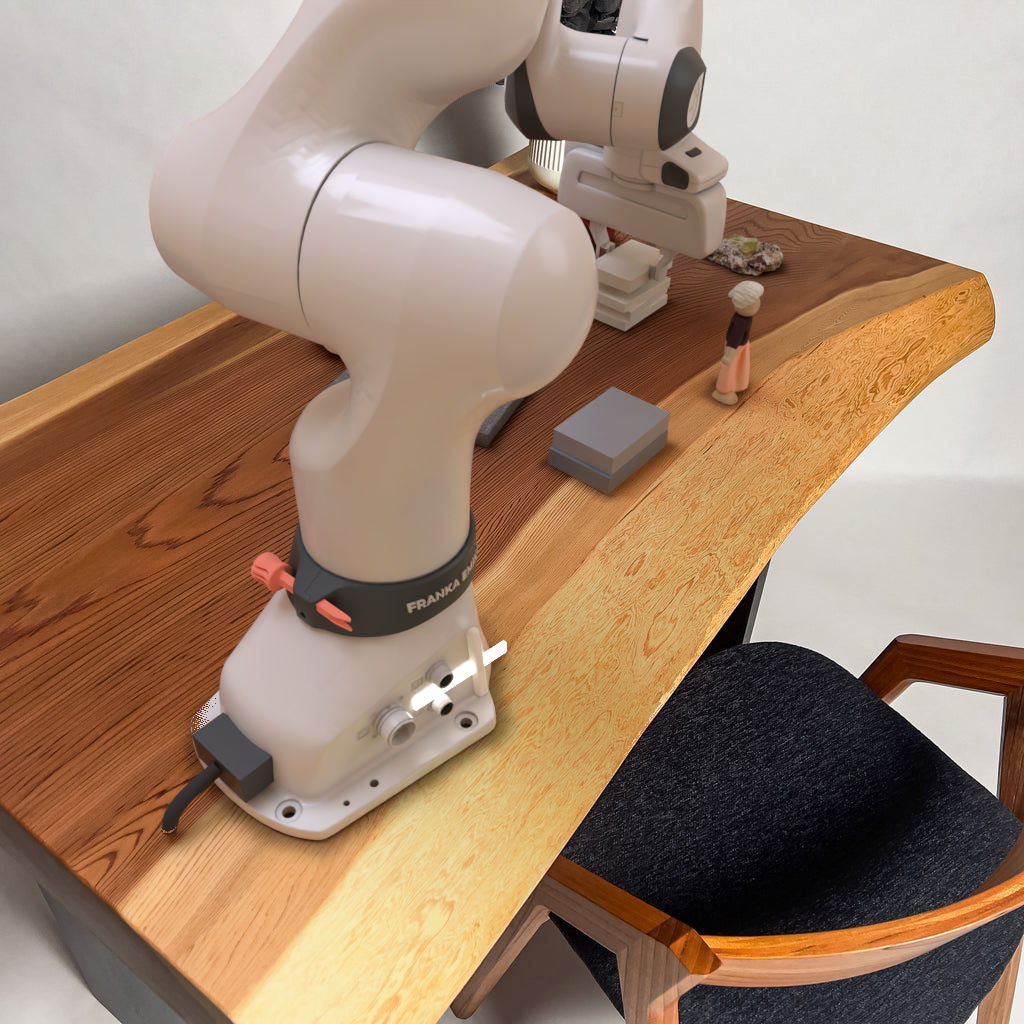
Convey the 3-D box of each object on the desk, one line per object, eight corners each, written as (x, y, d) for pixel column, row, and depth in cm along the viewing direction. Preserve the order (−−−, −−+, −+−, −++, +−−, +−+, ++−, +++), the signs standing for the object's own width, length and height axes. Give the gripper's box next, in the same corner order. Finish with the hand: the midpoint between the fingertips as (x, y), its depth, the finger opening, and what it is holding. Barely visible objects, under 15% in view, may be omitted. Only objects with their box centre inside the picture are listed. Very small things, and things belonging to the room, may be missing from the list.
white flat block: (629, 294, 108) (630, 281, 107) (586, 276, 110) (587, 263, 109) (672, 267, 113) (674, 254, 112) (629, 251, 116) (631, 238, 115)
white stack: (624, 333, 111) (628, 305, 108) (578, 314, 114) (580, 286, 111) (670, 302, 116) (674, 275, 114) (625, 285, 120) (628, 258, 117)
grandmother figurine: (745, 412, 99) (771, 302, 91) (708, 407, 100) (730, 297, 91) (746, 373, 105) (770, 266, 97) (711, 368, 105) (732, 261, 97)
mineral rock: (793, 239, 126) (782, 246, 119) (785, 272, 127) (774, 281, 121) (713, 224, 129) (698, 230, 122) (707, 257, 131) (691, 265, 124)
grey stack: (607, 495, 88) (611, 461, 86) (547, 464, 92) (549, 430, 89) (665, 446, 94) (671, 413, 92) (607, 418, 98) (611, 385, 95)
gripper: (549, 131, 105) (543, 249, 114) (711, 183, 96) (690, 307, 105) (583, 117, 109) (574, 232, 118) (743, 165, 100) (719, 286, 109)
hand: (630, 268), depth 111 cm, fingers closed on white flat block, 6 cm apart
